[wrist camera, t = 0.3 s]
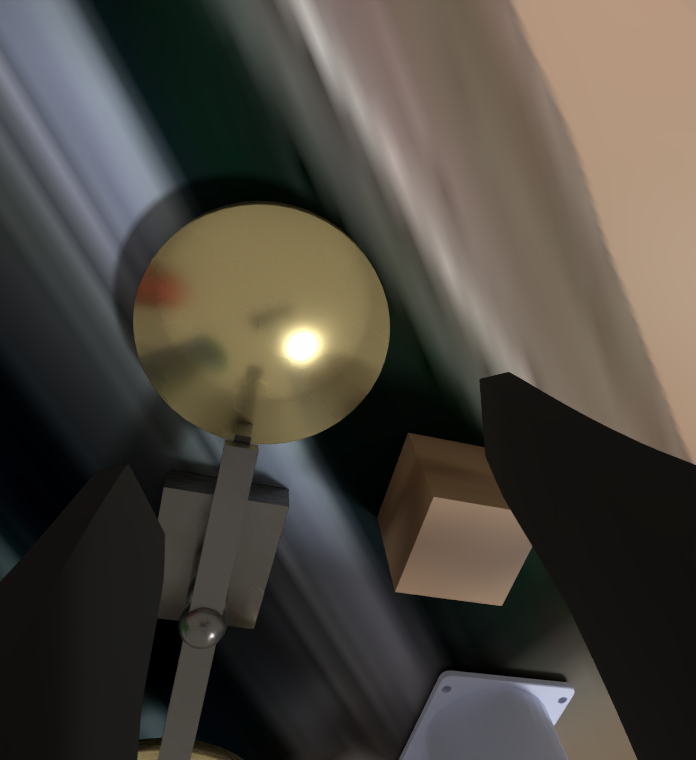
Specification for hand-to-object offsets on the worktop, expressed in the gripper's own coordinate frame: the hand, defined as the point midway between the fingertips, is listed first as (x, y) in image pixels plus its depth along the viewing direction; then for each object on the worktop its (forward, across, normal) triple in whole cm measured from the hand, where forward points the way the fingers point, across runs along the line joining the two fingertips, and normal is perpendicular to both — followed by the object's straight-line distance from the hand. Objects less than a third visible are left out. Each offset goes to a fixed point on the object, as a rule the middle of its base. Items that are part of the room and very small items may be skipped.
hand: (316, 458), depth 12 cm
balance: (+9, +6, +11) cm, 16 cm away
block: (+9, -4, +11) cm, 15 cm away
